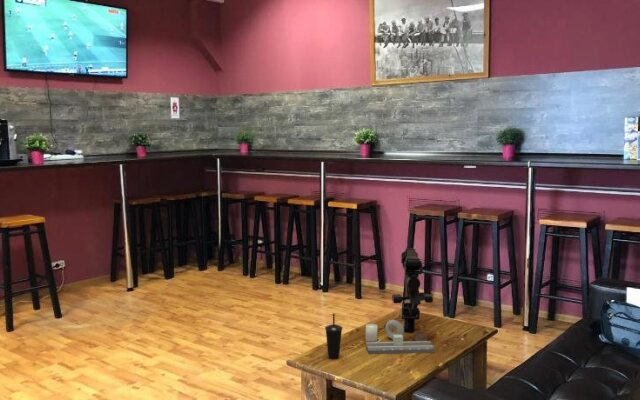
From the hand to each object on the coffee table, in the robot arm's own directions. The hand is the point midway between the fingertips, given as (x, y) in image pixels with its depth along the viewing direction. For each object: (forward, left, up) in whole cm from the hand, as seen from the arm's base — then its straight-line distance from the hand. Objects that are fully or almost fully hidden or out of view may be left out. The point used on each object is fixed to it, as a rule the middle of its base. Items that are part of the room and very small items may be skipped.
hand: (411, 316), depth 284 cm
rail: (+12, -8, -12) cm, 19 cm away
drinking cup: (+19, -39, -12) cm, 45 cm away
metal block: (+1, +4, -12) cm, 13 cm away
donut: (-1, -8, -12) cm, 15 cm away
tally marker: (+12, -9, -10) cm, 18 cm away
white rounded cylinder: (-2, -19, -12) cm, 23 cm away
